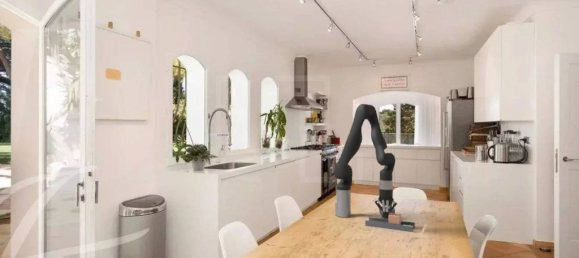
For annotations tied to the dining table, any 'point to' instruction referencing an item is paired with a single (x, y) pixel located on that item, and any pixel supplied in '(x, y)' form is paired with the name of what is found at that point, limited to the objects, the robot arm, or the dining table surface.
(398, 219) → the terracotta block
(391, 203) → the mortar and pestle
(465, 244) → the dining table surface
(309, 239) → the dining table surface
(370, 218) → the chute
